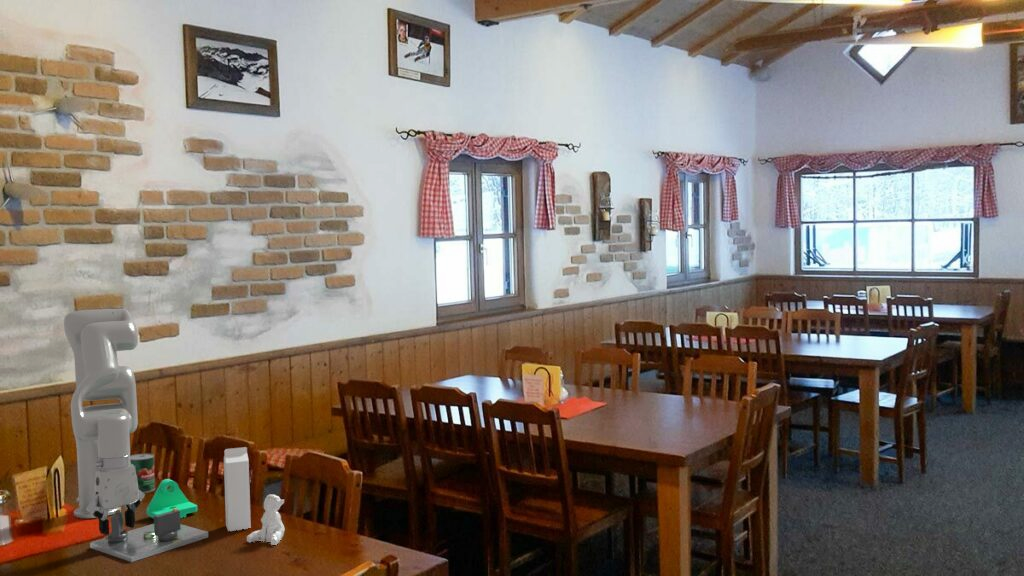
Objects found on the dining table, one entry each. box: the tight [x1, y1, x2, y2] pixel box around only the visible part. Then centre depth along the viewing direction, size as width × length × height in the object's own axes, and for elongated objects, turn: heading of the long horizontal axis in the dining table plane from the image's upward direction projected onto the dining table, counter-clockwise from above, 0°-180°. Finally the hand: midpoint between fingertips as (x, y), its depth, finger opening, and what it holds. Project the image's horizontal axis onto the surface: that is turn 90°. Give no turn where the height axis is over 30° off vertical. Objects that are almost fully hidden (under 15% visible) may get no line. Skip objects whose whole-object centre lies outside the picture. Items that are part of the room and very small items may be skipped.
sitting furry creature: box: [246, 494, 286, 546], centre depth 235 cm, size 10×9×12 cm
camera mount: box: [145, 478, 198, 519], centre depth 257 cm, size 12×8×10 cm, turn 134°
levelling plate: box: [89, 523, 209, 563], centre depth 234 cm, size 19×22×2 cm
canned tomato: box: [130, 453, 156, 494], centre depth 286 cm, size 8×8×11 cm
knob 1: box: [107, 508, 128, 543], centre depth 232 cm, size 5×6×7 cm
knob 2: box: [153, 508, 181, 541], centre depth 233 cm, size 5×6×7 cm
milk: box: [223, 446, 252, 532], centre depth 246 cm, size 6×6×22 cm
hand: (117, 529), depth 232 cm, fingers open, 6 cm apart
